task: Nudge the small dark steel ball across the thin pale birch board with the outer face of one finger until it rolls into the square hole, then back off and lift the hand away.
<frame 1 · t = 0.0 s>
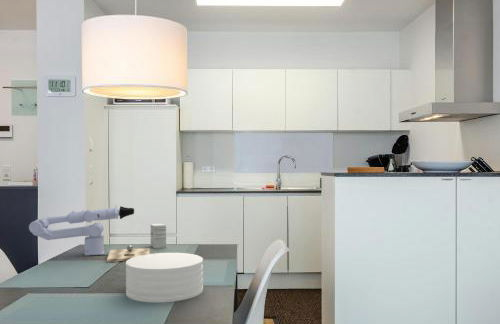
hand: (133, 211, 240), 22 cm above the table, tool horizontal, fingers open, 7 cm apart
birch board: (129, 256, 229), on the table
steel ball: (129, 248, 235), point 3 cm above the table, touching birch board
plate stack: (165, 291, 167), on the table
supplement box: (158, 247, 255), on the table
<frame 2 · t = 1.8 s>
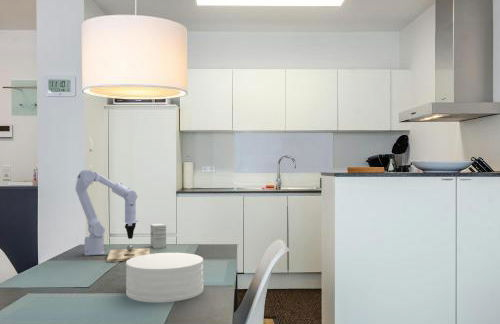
hand: (130, 237, 246), 7 cm above the table, tool pointing down, fingers open, 7 cm apart
nothing on the table moved.
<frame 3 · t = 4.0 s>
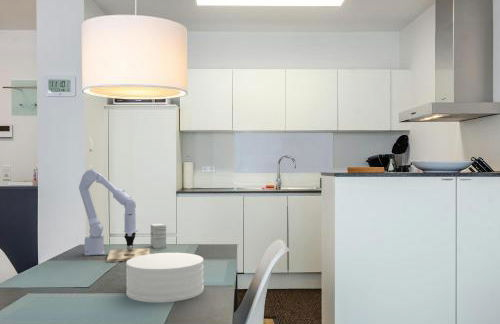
hand: (130, 247, 240), 2 cm above the table, tool pointing down, fingers open, 7 cm apart
steel ball: (129, 248, 235), point 3 cm above the table, touching birch board, gripper
everything else where it was.
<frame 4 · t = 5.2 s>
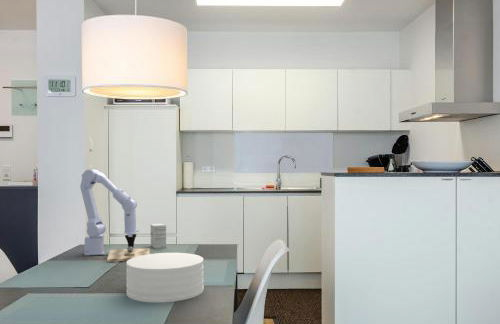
hand: (131, 248, 234), 3 cm above the table, tool pointing down, fingers closed, pressing on steel ball
steel ball: (130, 249, 233), point 3 cm above the table, tilted 80°, touching birch board, gripper
everything else where it was.
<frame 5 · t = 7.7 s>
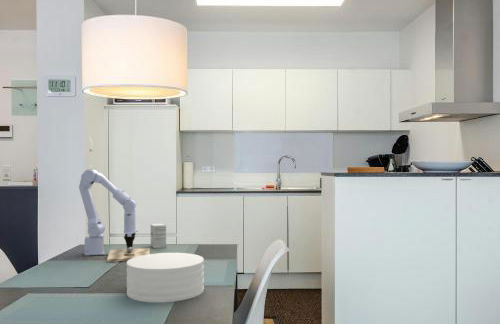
hand: (129, 248, 237), 3 cm above the table, tool pointing down, fingers open, 7 cm apart
steel ball: (129, 249, 231), point 3 cm above the table, tilted 150°, touching birch board
everything else where it was.
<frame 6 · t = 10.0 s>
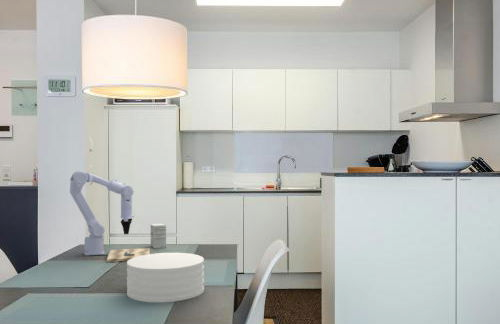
hand: (126, 233, 244), 9 cm above the table, tool pointing down, fingers open, 7 cm apart
steel ball: (127, 254, 225), point 2 cm above the table, tilted 61°, touching birch board
everything else where it was.
at the end: steel ball 1.0 cm from the target spot on the birch board, point 1.7 cm above the birch board's base; steel ball moved 10.5 cm from its start; the gripper is holding nothing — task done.
